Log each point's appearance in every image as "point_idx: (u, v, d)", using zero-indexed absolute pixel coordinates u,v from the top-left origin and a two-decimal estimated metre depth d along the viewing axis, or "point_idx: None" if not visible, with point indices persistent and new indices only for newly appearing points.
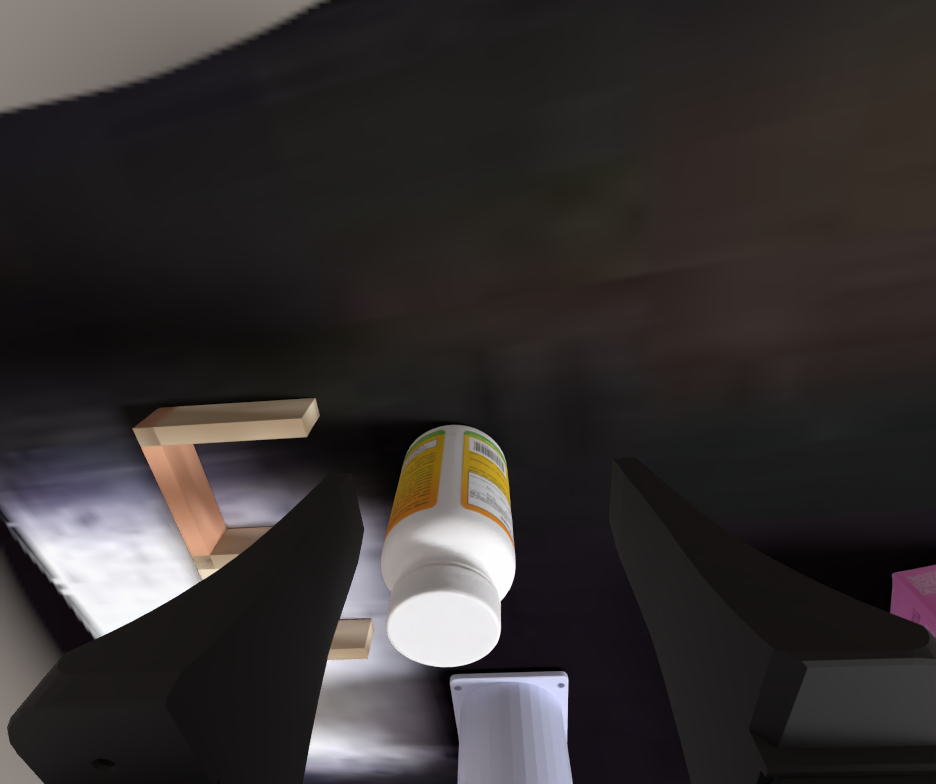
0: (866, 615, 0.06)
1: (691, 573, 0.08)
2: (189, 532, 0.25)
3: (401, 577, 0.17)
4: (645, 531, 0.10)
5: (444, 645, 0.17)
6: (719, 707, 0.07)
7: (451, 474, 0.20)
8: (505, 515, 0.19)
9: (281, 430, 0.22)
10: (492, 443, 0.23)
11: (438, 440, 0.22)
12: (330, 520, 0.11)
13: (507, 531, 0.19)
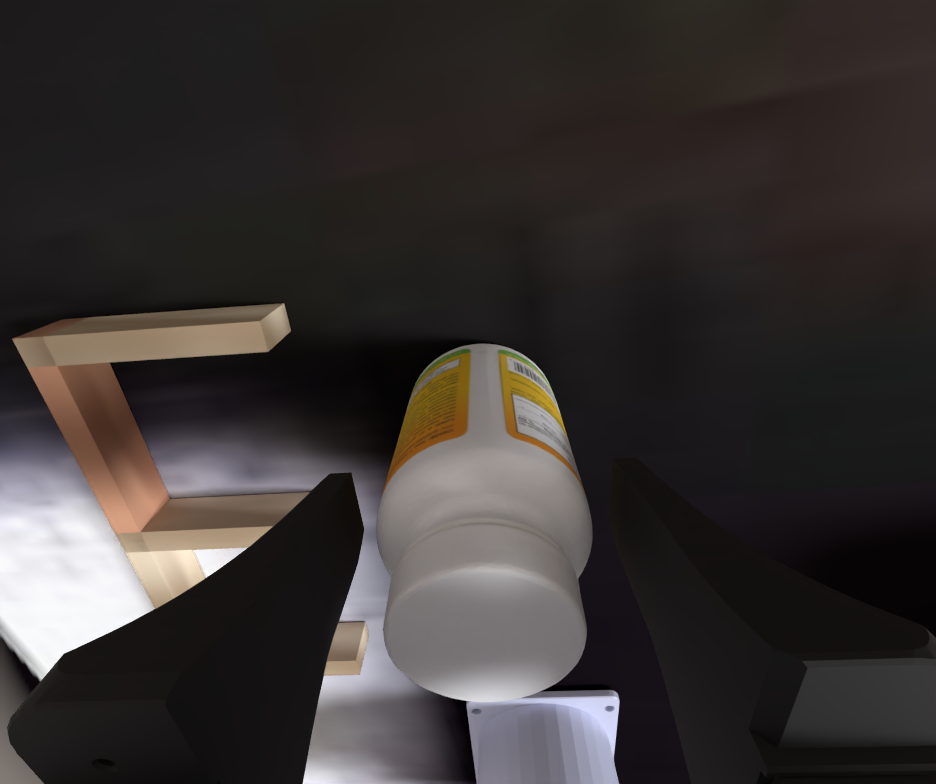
0: (866, 615, 0.06)
1: (691, 573, 0.08)
2: (109, 499, 0.18)
3: (410, 547, 0.10)
4: (645, 531, 0.10)
5: (485, 666, 0.09)
6: (719, 707, 0.07)
7: (486, 395, 0.13)
8: (571, 457, 0.12)
9: (230, 341, 0.15)
10: (537, 369, 0.16)
11: (461, 359, 0.15)
12: (329, 520, 0.11)
13: (579, 479, 0.12)
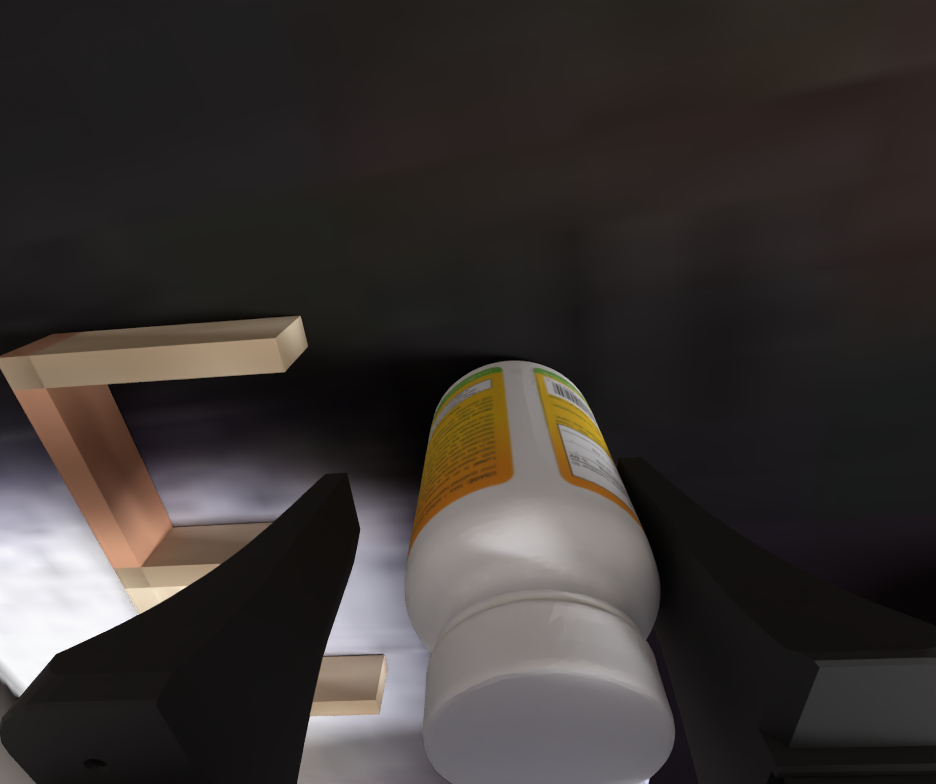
0: (876, 615, 0.06)
1: (699, 573, 0.08)
2: (106, 532, 0.16)
3: (453, 624, 0.08)
4: (651, 531, 0.10)
5: (546, 772, 0.08)
6: (728, 707, 0.07)
7: (529, 426, 0.11)
8: None
9: (242, 360, 0.13)
10: (576, 389, 0.15)
11: (493, 380, 0.14)
12: (325, 520, 0.11)
13: None
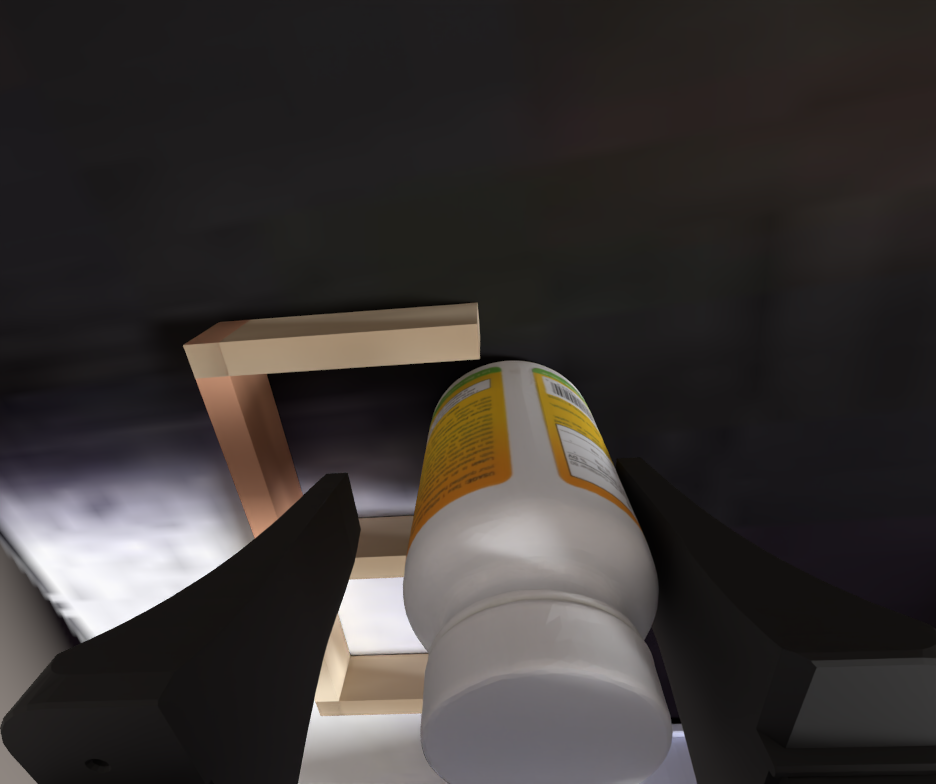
0: (874, 615, 0.06)
1: (697, 573, 0.08)
2: (263, 525, 0.16)
3: (451, 625, 0.08)
4: (650, 531, 0.10)
5: (544, 772, 0.08)
6: (725, 707, 0.07)
7: (527, 427, 0.11)
8: (628, 500, 0.11)
9: (438, 347, 0.13)
10: (574, 389, 0.15)
11: (492, 380, 0.14)
12: (325, 520, 0.11)
13: (641, 529, 0.10)
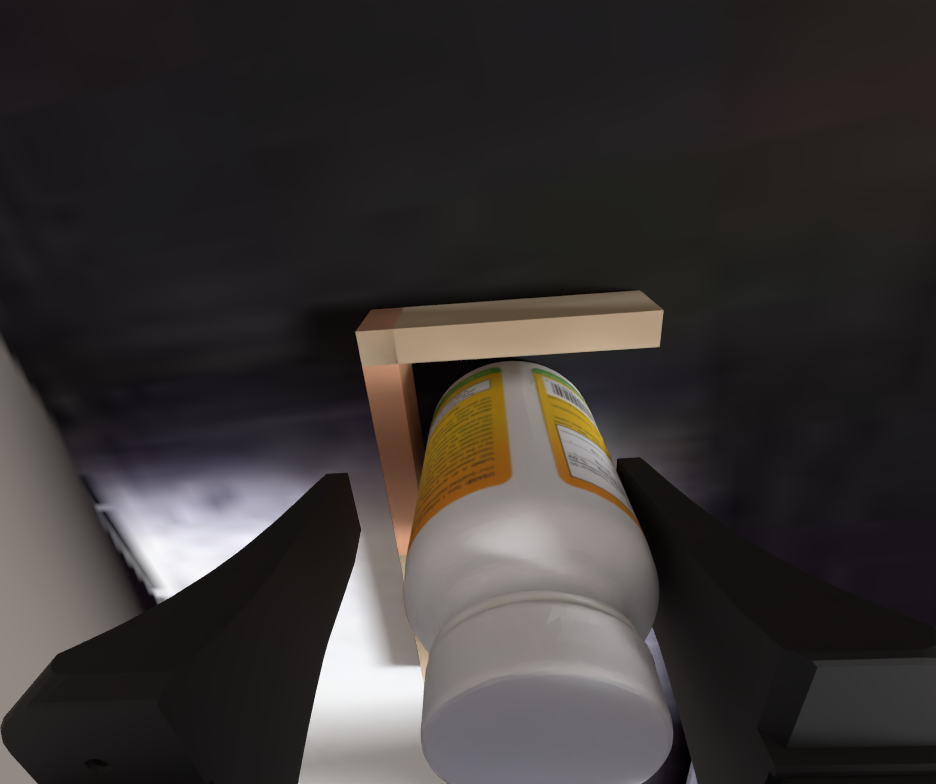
0: (874, 615, 0.06)
1: (697, 573, 0.08)
2: (405, 518, 0.15)
3: (451, 626, 0.08)
4: (650, 531, 0.10)
5: (545, 773, 0.08)
6: (726, 707, 0.07)
7: (527, 427, 0.11)
8: (628, 501, 0.11)
9: (618, 334, 0.12)
10: (575, 389, 0.15)
11: (492, 380, 0.14)
12: (325, 520, 0.11)
13: (641, 530, 0.10)
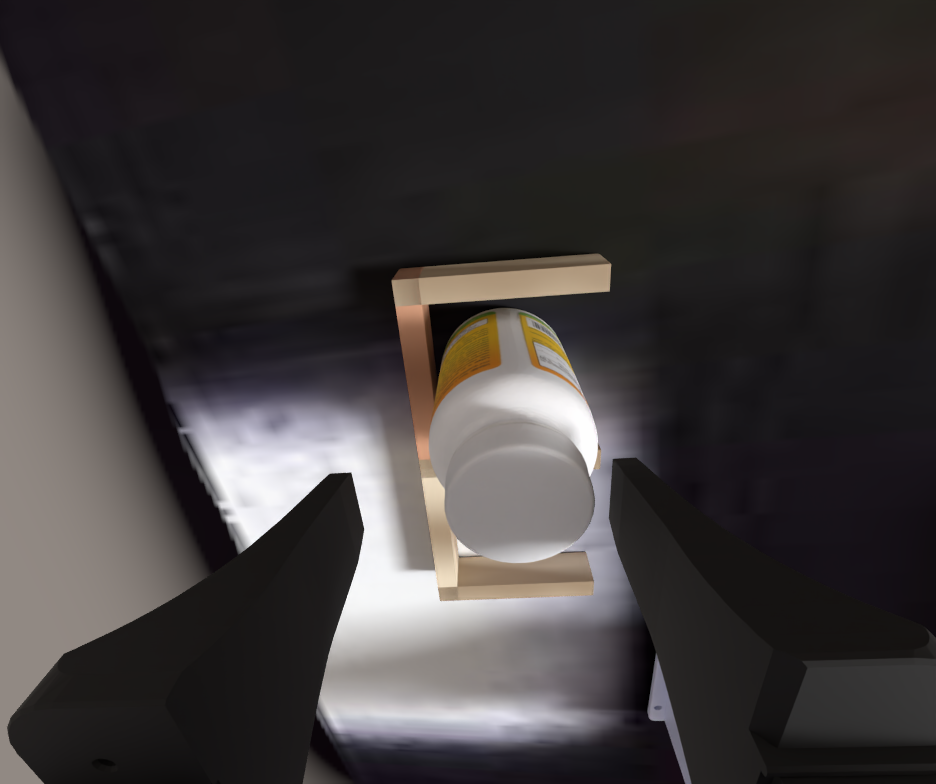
0: (866, 615, 0.06)
1: (691, 573, 0.08)
2: (424, 427, 0.20)
3: (462, 444, 0.13)
4: (645, 531, 0.10)
5: (519, 530, 0.13)
6: (719, 707, 0.07)
7: (512, 341, 0.16)
8: (581, 390, 0.16)
9: (579, 282, 0.17)
10: (550, 328, 0.20)
11: (488, 319, 0.19)
12: (330, 520, 0.11)
13: (587, 404, 0.15)
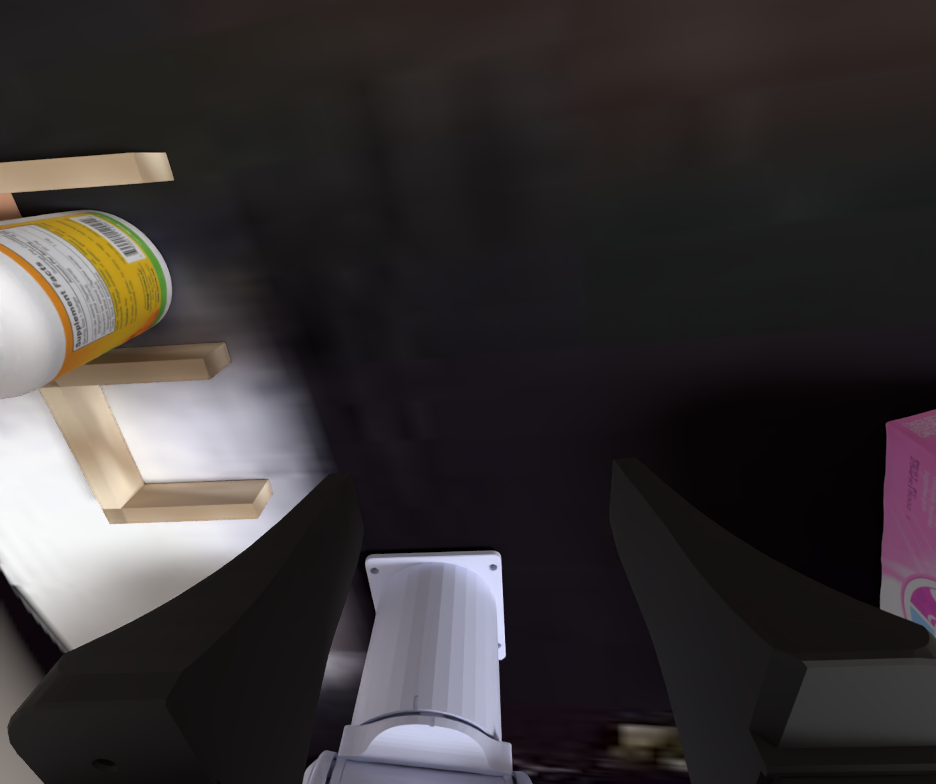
0: (866, 615, 0.06)
1: (691, 573, 0.08)
2: None
3: None
4: (645, 531, 0.10)
5: None
6: (719, 707, 0.07)
7: (1, 222, 0.16)
8: (59, 269, 0.16)
9: (110, 172, 0.17)
10: (132, 231, 0.19)
11: None
12: (330, 520, 0.11)
13: (39, 277, 0.15)
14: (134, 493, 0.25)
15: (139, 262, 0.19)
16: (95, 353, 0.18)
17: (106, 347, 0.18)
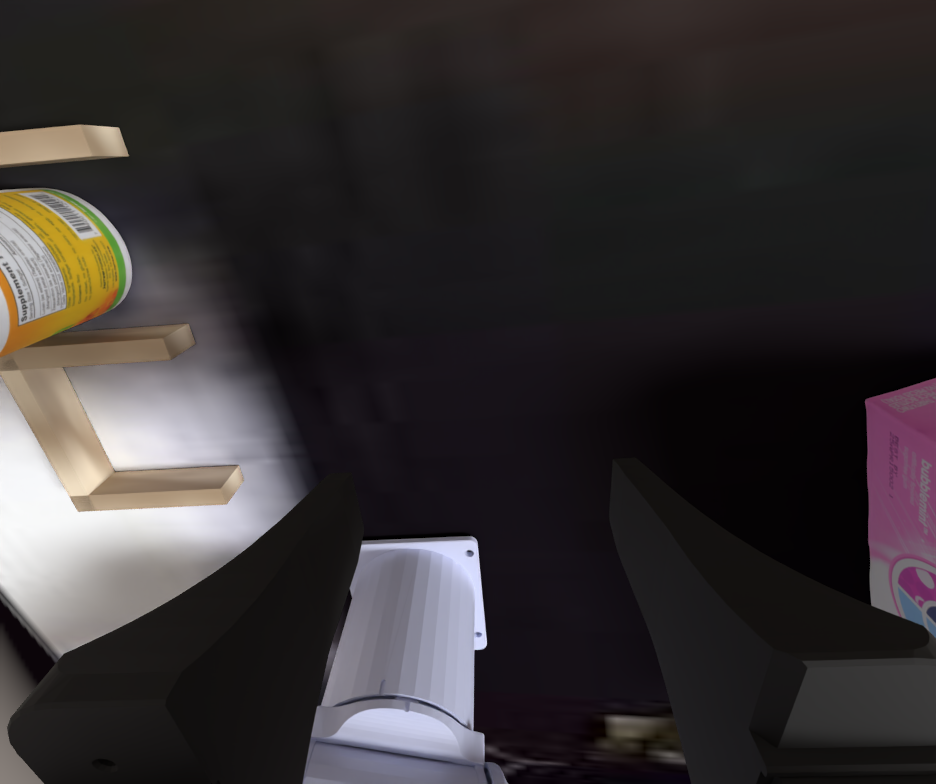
0: (866, 615, 0.06)
1: (691, 573, 0.08)
2: None
3: None
4: (645, 531, 0.10)
5: None
6: (719, 707, 0.07)
7: None
8: (1, 241, 0.15)
9: (58, 145, 0.17)
10: (87, 208, 0.19)
11: None
12: (330, 520, 0.11)
13: None
14: (103, 480, 0.25)
15: (93, 239, 0.19)
16: (46, 330, 0.17)
17: (59, 324, 0.18)
